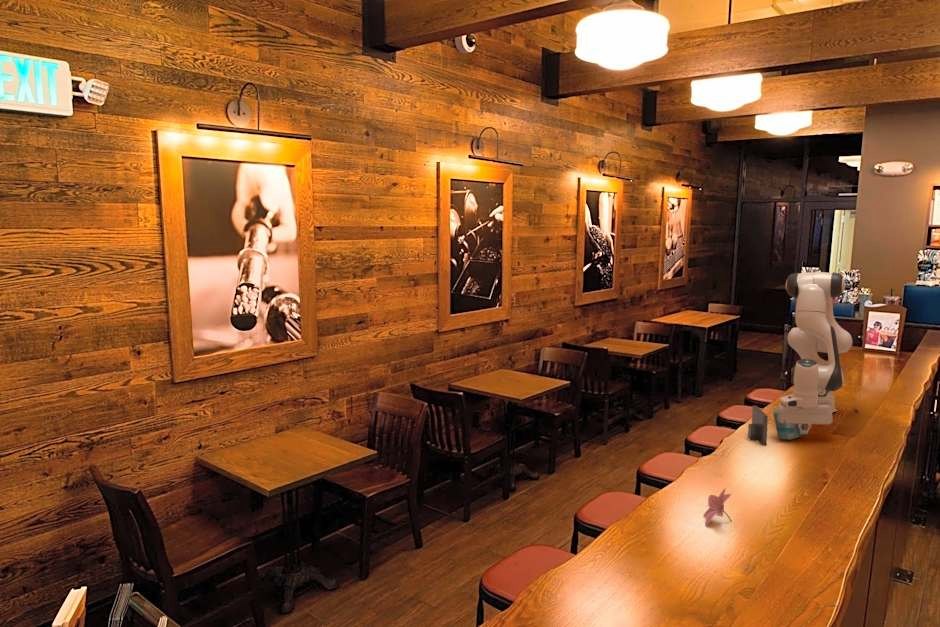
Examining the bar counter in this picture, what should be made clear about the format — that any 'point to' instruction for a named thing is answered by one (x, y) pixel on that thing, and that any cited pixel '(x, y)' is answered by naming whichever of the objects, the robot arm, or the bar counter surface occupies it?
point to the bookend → (758, 426)
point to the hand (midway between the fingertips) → (803, 434)
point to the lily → (716, 506)
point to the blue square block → (787, 429)
